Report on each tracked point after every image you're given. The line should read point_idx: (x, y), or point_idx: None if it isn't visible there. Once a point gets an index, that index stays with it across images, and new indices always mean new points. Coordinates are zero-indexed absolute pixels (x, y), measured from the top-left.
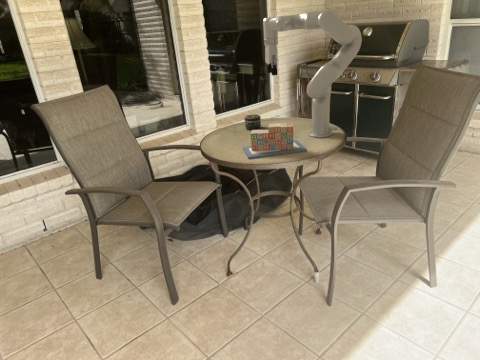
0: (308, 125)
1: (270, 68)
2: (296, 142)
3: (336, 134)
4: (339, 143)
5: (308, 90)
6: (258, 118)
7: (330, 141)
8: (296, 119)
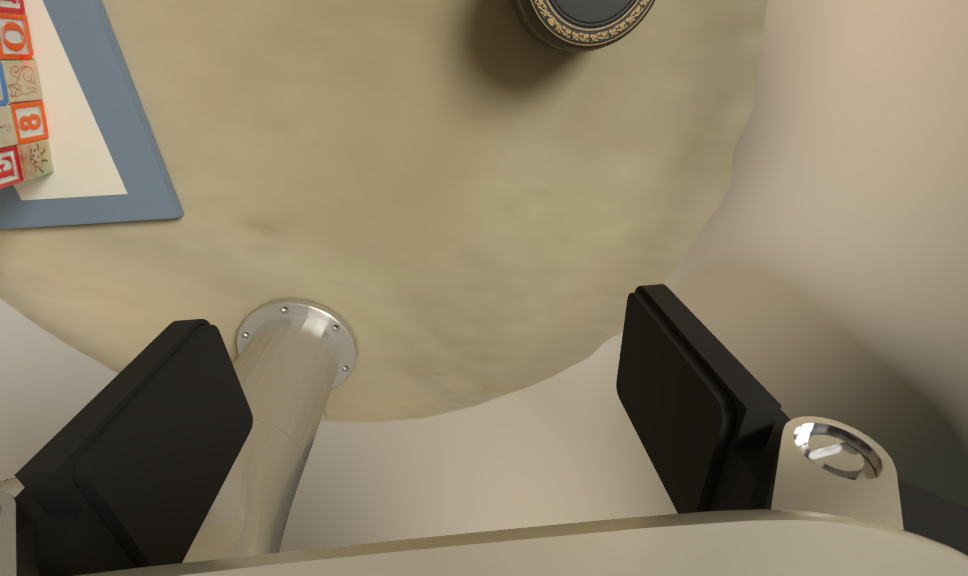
0: (478, 331)
1: (667, 422)
2: (127, 204)
3: None
4: None
5: None
6: (533, 20)
7: None
8: (621, 302)
